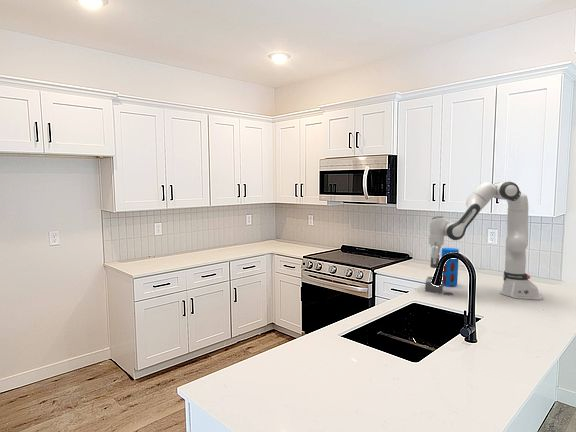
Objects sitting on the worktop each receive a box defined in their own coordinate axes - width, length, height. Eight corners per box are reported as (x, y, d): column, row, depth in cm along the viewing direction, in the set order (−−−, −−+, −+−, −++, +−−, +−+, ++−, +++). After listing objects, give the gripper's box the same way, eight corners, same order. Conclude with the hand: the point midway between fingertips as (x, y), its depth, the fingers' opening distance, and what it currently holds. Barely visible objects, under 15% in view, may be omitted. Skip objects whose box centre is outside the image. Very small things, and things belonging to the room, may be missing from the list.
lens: (439, 266, 253) (439, 254, 252) (438, 268, 248) (439, 255, 248) (430, 266, 255) (431, 253, 254) (429, 267, 250) (430, 254, 250)
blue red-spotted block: (459, 287, 262) (461, 250, 260) (443, 287, 263) (445, 250, 261) (453, 283, 273) (454, 247, 271) (437, 283, 273) (439, 247, 271)
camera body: (442, 289, 255) (443, 277, 254) (441, 293, 247) (442, 280, 246) (426, 288, 259) (426, 276, 259) (425, 291, 251) (425, 278, 250)
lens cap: (453, 294, 246) (453, 293, 246) (453, 296, 241) (453, 295, 241) (444, 293, 248) (444, 292, 248) (443, 295, 243) (443, 294, 243)
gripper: (440, 244, 239) (439, 266, 241) (442, 240, 258) (440, 260, 259) (429, 243, 242) (428, 265, 243) (432, 239, 261) (430, 259, 262)
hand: (434, 263), depth 251 cm, fingers closed on lens, 5 cm apart
